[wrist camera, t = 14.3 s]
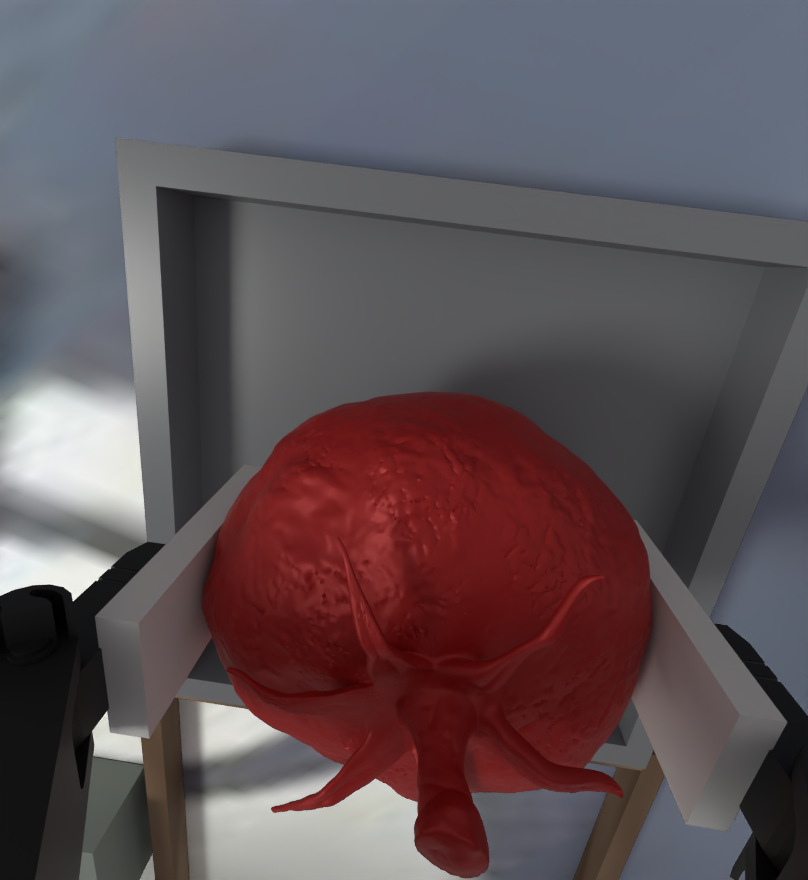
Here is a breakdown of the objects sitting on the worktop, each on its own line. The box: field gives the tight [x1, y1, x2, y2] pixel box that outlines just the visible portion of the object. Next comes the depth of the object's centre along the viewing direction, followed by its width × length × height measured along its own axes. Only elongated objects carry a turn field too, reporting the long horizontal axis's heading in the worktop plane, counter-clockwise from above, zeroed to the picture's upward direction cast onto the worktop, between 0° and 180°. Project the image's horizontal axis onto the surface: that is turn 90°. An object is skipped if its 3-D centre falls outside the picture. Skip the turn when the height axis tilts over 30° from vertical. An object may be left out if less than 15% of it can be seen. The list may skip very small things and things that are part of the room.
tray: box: [115, 138, 808, 769], centre depth 17 cm, size 19×19×3 cm
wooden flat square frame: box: [141, 696, 665, 880], centre depth 25 cm, size 23×23×2 cm
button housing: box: [79, 757, 153, 880], centre depth 25 cm, size 7×7×4 cm
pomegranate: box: [202, 392, 652, 878], centre depth 11 cm, size 10×10×9 cm
